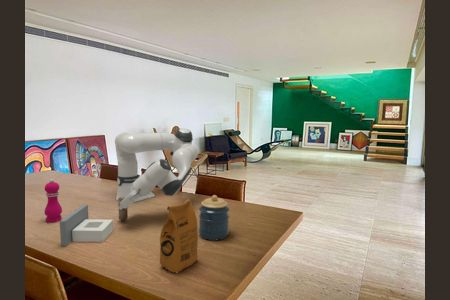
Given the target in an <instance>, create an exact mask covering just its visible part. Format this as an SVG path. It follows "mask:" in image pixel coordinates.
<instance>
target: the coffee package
mask: <svg viewBox="0 0 450 300" xmlns="http://www.w3.org/2000/svg"><path fill="white" fill-rule="evenodd" d="M166 210H168V212H169V214H168V215H167V218H166V221H165V223H164V224H163V226H162V228H161V231H160V236H159V247H160V249H159V252H160V253H159V264H160V266H161V267H162V268H163V267H165V268H164V269H166V268H167V269H168V271H169V272H170V271H171V272H170V273H174V272H179V271H180V272H181V271H183V270H184V269H186V267H187V268H189V267H188V266H190V265H191V266H192V265H193V264H194V263H195V262H196V260H197V261H198V243H199V242H198V239H199V238H198V237H199V235H198V234H199V231H198V220H197V215H196V212H195V210H194V206H193V204H192V202H191V199H189V198H188V199H186V200H185V201H184V202H183V204H178V205H168V206H167V208H166ZM191 266H190V267H191ZM167 269H166V270H167ZM182 269H183V270H182ZM180 272H179V273H180Z"/></svg>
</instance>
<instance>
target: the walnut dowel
mask: <svg viewBox="0 0 450 300" xmlns="http://www.w3.org/2000/svg"><path fill="white" fill-rule="evenodd" d="M125 198H126V197H120V198H118V200H117V201H118V205H117V206H118V207H119V206H120V203H121V201H122V200H123V199H125ZM128 214H129V212H128V207H127V208H126V209H125V208H123V209H122V210H120V209H119V208H118V220H119V221H125V220H126V221H127V220H128V217H129V215H128Z"/></svg>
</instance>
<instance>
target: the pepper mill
mask: <svg viewBox="0 0 450 300" xmlns="http://www.w3.org/2000/svg"><path fill="white" fill-rule="evenodd" d="M44 191H45V192H46V197H47V204H46V206H45V208H44V216H46V217H45V222H46V223H57V222H60V221H61V220H62V215H61V214H62V212H63V209H62V208H63V207H62V206H61V204H60V202H59V200H58V197H59V191H60V184H59V183H57V182H56V181H55V179H53V178H51V179H49V182H47V183H46V184H45V185H44Z"/></svg>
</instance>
